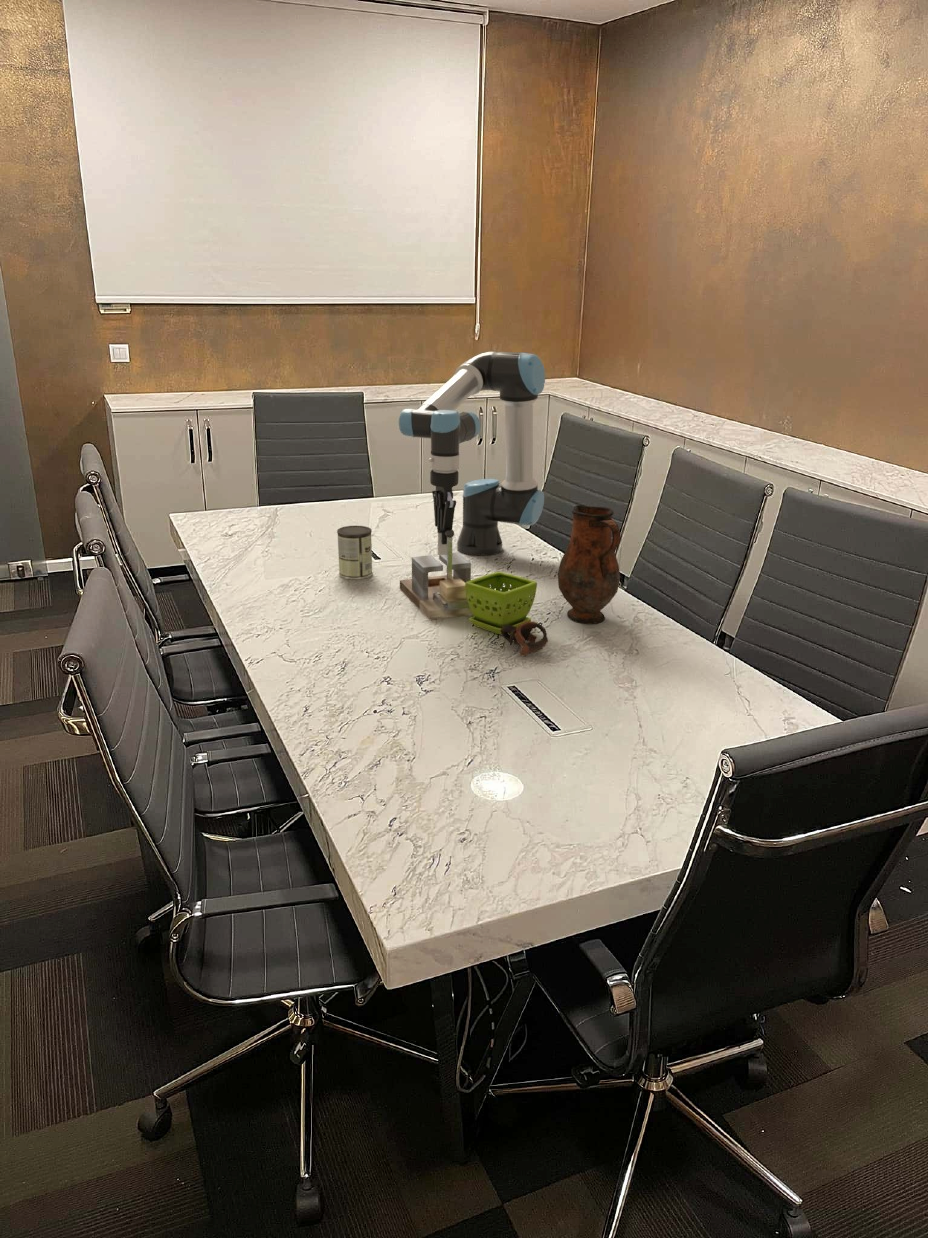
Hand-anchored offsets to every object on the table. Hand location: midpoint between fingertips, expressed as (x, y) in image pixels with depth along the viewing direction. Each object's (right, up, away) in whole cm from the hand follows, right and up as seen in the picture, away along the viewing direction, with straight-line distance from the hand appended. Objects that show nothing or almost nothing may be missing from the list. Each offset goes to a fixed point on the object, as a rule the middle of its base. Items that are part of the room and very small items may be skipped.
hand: (442, 554), depth 255 cm
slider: (+3, -13, -3) cm, 14 cm away
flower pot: (+15, -20, -11) cm, 28 cm away
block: (+3, -14, -3) cm, 14 cm away
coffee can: (-27, -4, +27) cm, 39 cm away
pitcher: (+40, -18, -5) cm, 44 cm away
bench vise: (-1, -13, +7) cm, 14 cm away
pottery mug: (+21, -26, -25) cm, 41 cm away
